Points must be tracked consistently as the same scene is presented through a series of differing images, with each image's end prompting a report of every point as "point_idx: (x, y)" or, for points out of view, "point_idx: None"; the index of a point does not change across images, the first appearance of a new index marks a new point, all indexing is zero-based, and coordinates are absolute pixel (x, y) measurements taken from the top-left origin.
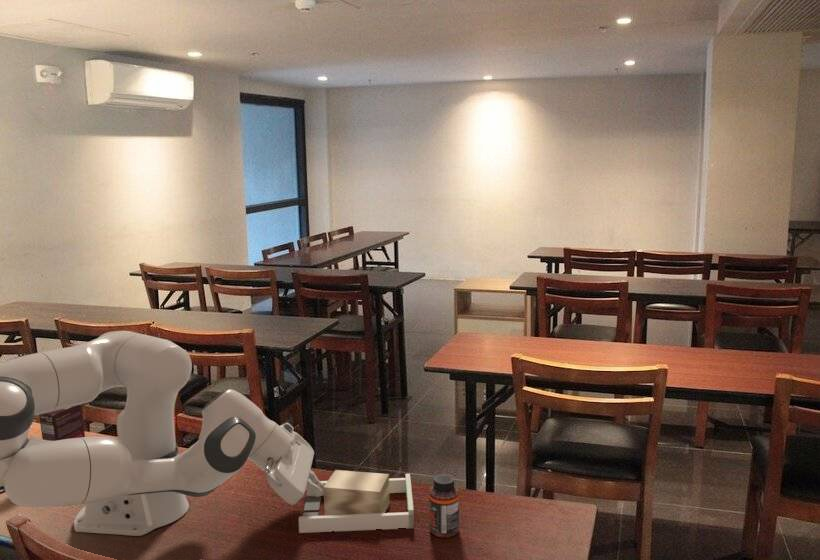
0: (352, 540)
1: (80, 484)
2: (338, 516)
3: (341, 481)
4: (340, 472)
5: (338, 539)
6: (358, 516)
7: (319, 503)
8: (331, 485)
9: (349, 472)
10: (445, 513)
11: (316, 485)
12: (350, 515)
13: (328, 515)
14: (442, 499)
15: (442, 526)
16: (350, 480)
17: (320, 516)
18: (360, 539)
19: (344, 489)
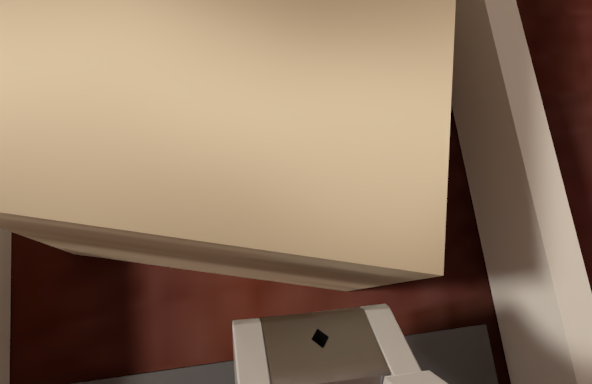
0: (565, 90)
1: None
2: (539, 144)
3: (285, 81)
4: (20, 122)
5: (570, 164)
6: (518, 13)
7: (157, 374)
8: (389, 185)
9: (32, 12)
10: None
11: (408, 382)
12: (512, 65)
13: (540, 218)
14: None
15: None
16: None
17: (563, 278)
18: (548, 51)
19: (451, 38)
